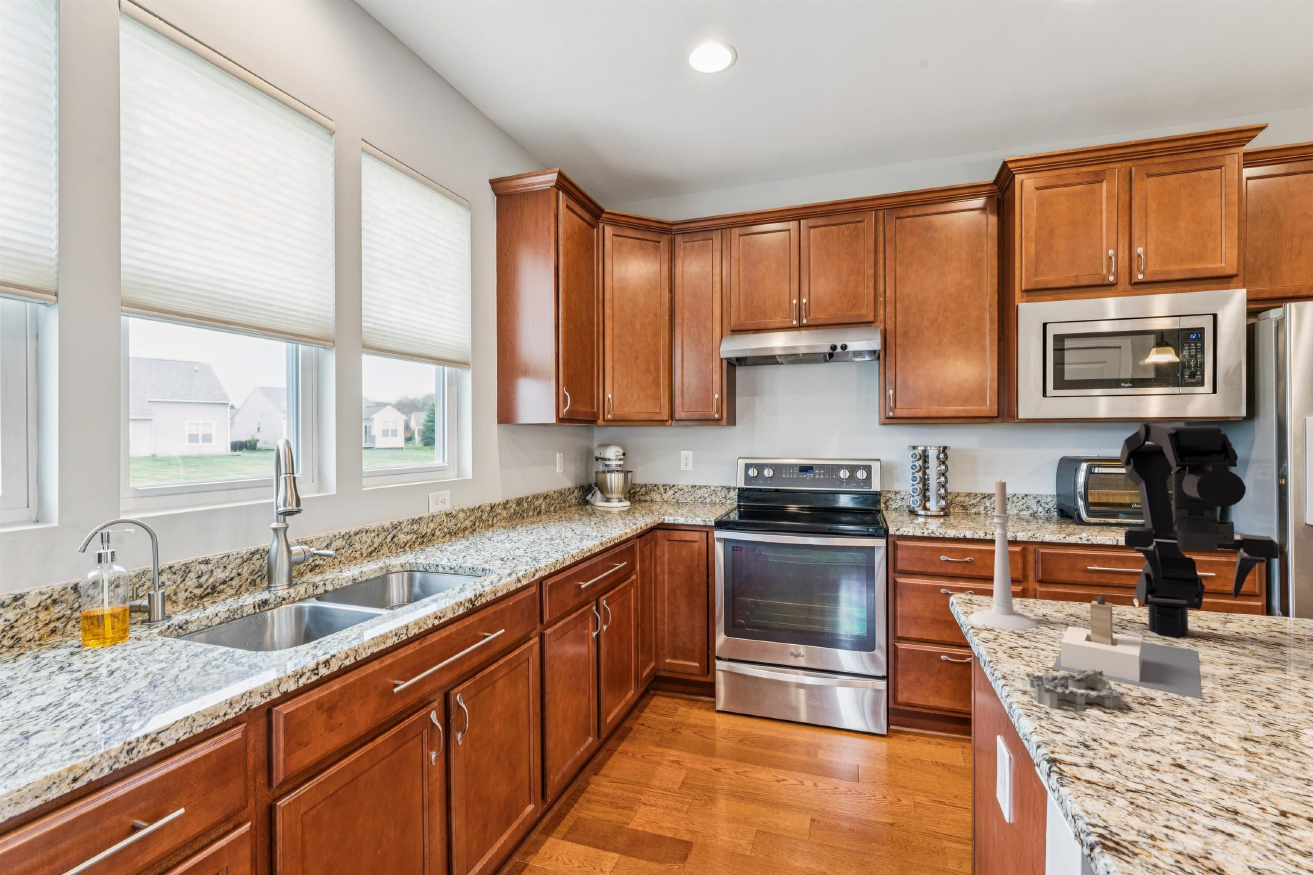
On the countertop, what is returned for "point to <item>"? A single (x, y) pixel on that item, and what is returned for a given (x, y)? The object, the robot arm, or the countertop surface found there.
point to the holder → (1102, 654)
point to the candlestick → (1001, 577)
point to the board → (1162, 670)
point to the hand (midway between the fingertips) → (1197, 592)
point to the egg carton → (1077, 681)
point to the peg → (1101, 621)
